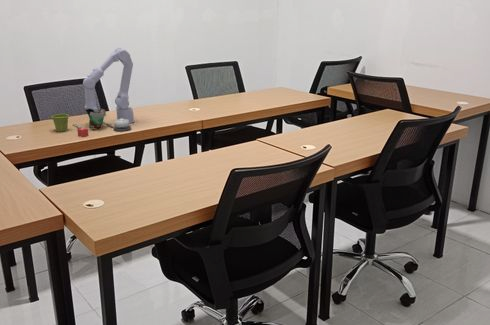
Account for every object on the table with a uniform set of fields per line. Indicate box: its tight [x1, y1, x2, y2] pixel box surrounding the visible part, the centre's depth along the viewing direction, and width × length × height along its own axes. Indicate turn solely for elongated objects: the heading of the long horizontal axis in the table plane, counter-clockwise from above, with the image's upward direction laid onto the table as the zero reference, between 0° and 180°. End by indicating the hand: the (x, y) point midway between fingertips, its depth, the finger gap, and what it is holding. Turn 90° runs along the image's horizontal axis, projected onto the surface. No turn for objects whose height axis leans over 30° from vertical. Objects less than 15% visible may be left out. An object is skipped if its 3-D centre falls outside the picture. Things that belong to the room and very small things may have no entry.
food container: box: [88, 108, 107, 130], centre depth 287 cm, size 12×6×10 cm, turn 167°
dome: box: [114, 118, 130, 127], centre depth 286 cm, size 8×8×4 cm
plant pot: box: [50, 113, 70, 133], centre depth 283 cm, size 9×9×9 cm
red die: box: [76, 127, 90, 138], centre depth 273 cm, size 4×4×4 cm
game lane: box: [72, 120, 115, 129], centre depth 293 cm, size 18×20×1 cm
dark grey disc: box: [112, 125, 132, 133], centre depth 287 cm, size 10×10×1 cm
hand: (92, 121), depth 293 cm, fingers closed
